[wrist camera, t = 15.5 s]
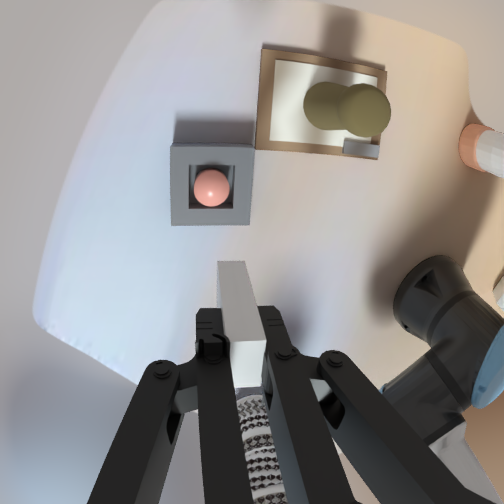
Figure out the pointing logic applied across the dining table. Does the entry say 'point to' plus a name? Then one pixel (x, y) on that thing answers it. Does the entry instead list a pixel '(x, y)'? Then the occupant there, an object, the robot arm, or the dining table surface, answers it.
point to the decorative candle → (260, 452)
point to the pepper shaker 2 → (482, 149)
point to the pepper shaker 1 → (347, 108)
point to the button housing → (197, 159)
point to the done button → (211, 187)
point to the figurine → (499, 293)
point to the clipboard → (291, 104)
